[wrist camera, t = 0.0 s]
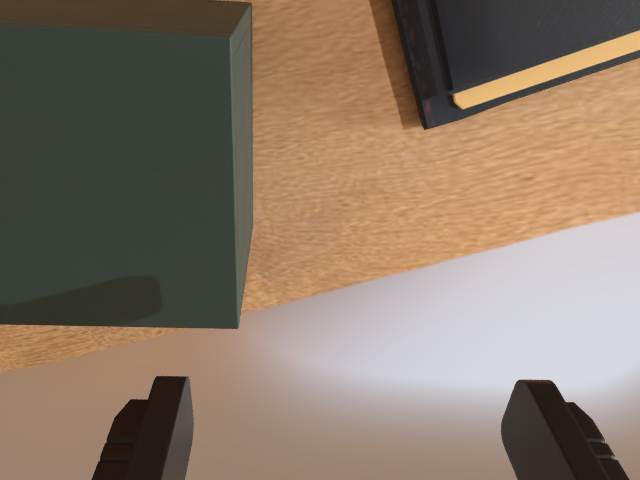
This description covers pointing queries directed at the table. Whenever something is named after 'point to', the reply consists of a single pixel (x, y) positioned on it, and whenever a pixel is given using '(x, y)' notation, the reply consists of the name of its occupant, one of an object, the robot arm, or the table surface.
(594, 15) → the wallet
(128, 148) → the cabinet
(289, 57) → the table surface
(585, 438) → the robot arm
